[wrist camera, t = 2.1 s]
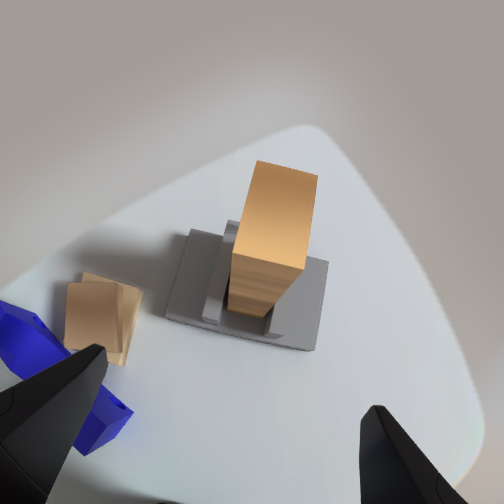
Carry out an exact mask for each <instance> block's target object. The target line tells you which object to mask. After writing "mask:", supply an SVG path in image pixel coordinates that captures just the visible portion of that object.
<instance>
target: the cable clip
mask: <svg viewBox="0 0 504 504" xmlns="http://www.w3.org/2000/svg"><path fill="white" fill-rule="evenodd" d="M71 355H72V354H71V353H70V352H69V351H68V350H67V349H65V347H64V346H63V345H62V344H61V343H60V341H59V340H58V339H57V338H56V337H55V336H54V335H53V334H52V332H51V331H50V330H49V329H48V328H47V327H46V325H45V324H44V323H43V322H42V321H41V319H40V318H39V317H38V316H37V315H36V314H35V313H33V312H30V311H27V310H24V309H22V308H19V307H16V306H14V305H11V304H8V303H6V302H3V301H1V300H0V357H1V359H2V360H3V361H4V363H5V364H6V366H7V367H8V368H9V370H10V371H12V372H13V373H15V374H16V375H17V376H19V377H20V378H21V379H23V380H26V379H27V378H29V377H31V376H33V375H35V374H37V373H39V372H41V371H42V370H44V369H46V368H48V367H50V366H52V365H54V364H56V363H58V362H59V361H61V360H63V359H65V358H67V357H69V356H71ZM133 413H134V412H133V411H132V410H130V409H129V408H128V407H127V406H126V405H124V404H123V403H122V402H121V401H120V400H119V399H117V398H116V397H115V396H114V395H113V394H112V393H111V392H110V391H108V390H107V389H106V388H105V387H104V386H103V385H102V384H101V386H100V388H99V391H98V393H97V396H96V399H95V401H94V404H93V406H92V408H91V410H90V412H89V414H88V416H87V418H86V419H85V421H84V423H83V425H82V427H81V429H80V431H79V433H78V435H77V437H76V439H75V441H74V443H73V446H74V447H75V448H76V449H77V450H78V451H79V452H80V453H81V454H82V455H83V456H84V457H85V456H86V455H88V454H90V453H91V452H93V451H95V450H96V449H98V448H99V447H101V446H103V445H104V444H106V443H107V442H109V441H110V440H112V439H114V438H115V436H116V435H117V434H118V433H119V431H120V430H121V429H122V427H123V426H124V425H125V423H126V422H127V421H128V420H129V418H130V417H131V416H132V414H133Z"/></svg>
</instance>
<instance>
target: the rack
mask: <svg viewBox="0 0 504 504" xmlns="http://www.w3.org/2000/svg"><path fill="white" fill-rule="evenodd" d="M239 225H240V222H236V221H232V220H228V221H227V225H226V229H225V232H224V236H221V235H217V234H212V233H208V232H204V231H200V230H195V229H191V230H190V233H189V236H188V239H187V242H186V246H185V249H184V252H183V255H182V258H181V262H180V265H179V268H178V272H177V275H176V278H175V282H174V285H173V289H172V292H171V296H170V299H169V303H168V306H167V310H166V313H165V317H167V318H168V319H170V320H174V321H178V322H181V323H185V324H189V325H192V326H196V327H200V328H204V329H208V330H212V331H216V332H220V333H224V334H228V335H232V336H237V337H241V338H245V339H250V340H254V341H259V342H264V343H268V344H273V345H278V346H283V347H288V348H293V349H298V350H304V351H315V345H316V340H317V334H318V329H319V323H320V317H321V311H322V305H323V298H324V292H325V285H326V278H327V271H328V264H329V261H325V260H321V259H317V258H313V257H309V256H306V261H305V267H304V270H303V272H302V273H301V274H300V275H299V276H298V277H297V279H296V280H295V281H294V282H293V283H292V285H291V286H290V287H289V288H288V289H287V290H286V292H285V293H284V294H283V295H282V296H281V297H280V298H279V300H278V301H277V302H276V303H275V304H274V305H273V307H272V308H271V309H270V310H269V311H268V312H267V313H266V315H265V316H264V317H263V318H262V319H260V318H255V317H251V316H247V315H242V314H238V313H234V312H230V311H227V309H228V297H229V285H230V273H231V262H232V252H233V248H234V244H235V240H236V237H237V233H238V229H239Z"/></svg>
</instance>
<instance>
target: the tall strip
mask: <svg viewBox="0 0 504 504" xmlns="http://www.w3.org/2000/svg"><path fill="white" fill-rule="evenodd" d="M317 179H318V176H317V175H314V174H310V173H306V172H302V171H299V170H295V169H291V168H287V167H283V166H279V165H275V164H271V163H266V162H262V161H258V160H257V162H256V165H255V169H254V173H253V176H252V180H251V184H250V188H249V191H248V195H247V199H246V202H245V206H244V210H243V214H242V218H241V221H240V225H239V229H238V233H237V237H236V240H235V244H234V248H233V252H232V262H231V273H230V285H229V297H228V309H227V311H230V312H234V313H238V314H242V315H247V316H251V317H255V318H260V319H262V318H263V317H264V316H265V315H266V313H267V312H268V311H269V310H270V309H271V308H272V307H273V305H274V304H275V303H276V302H277V301H278V300H279V298H280V297H281V296H282V295H283V294H284V293H285V292H286V290H287V289H288V288H289V287H290V286H291V285H292V283H293V282H294V281H295V280H296V279H297V277H298V276H299V275H300V274H301V273H302V272H303V270H304V267H305V261H306V255H307V249H308V243H309V236H310V229H311V223H312V216H313V209H314V202H315V194H316V187H317Z"/></svg>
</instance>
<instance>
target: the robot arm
mask: <svg viewBox="0 0 504 504" xmlns="http://www.w3.org/2000/svg"><path fill="white" fill-rule="evenodd" d="M107 368H108V360H107V352H106V348H105V347H104V346H102V345H99V344H96V343H94V344H91V345H89V346H87V347H86V348H84V349H82V350H80V351H78V352H76V353H74V354H73V355H71V356H69V357H67V358H65V359H63V360H61V361H59V362H58V363H56V364H54V365H52V366H50V367H48V368H46V369H44V370H42V371H41V372H39V373H37V374H35V375H33V376H31V377H29V378H27V379H26V380H24V381H22V382H20V383H18V384H16V385H15V386H12V387H10V388H8V389H6V390H5V391H2V392H0V504H45V503H46V500H47V498H48V495H49V493H50V491H51V489H52V487H53V484H54V482H55V480H56V478H57V476H58V474H59V472H60V469H61V467H62V465H63V463H64V461H65V459H66V457H67V455H68V453H69V451H70V449H71V447H72V445H73V443H74V441H75V439H76V437H77V435H78V433H79V431H80V429H81V427H82V425H83V423H84V421H85V419H86V418H87V416H88V414H89V412H90V410H91V408H92V406H93V404H94V401H95V399H96V396H97V393H98V391H99V388H100V386H101V383H102V381H103V378H104V376H105V373H106V371H107ZM359 470H360V490H361V504H468V503H467V502H466V501H465V500H464V499H463V498H462V497H461V496H460V495H459V494H458V493H457V492H456V491H455V490H454V489H453V488H452V487H451V486H450V484H449V483H448V482H447V481H446V480H445V479H444V477H443V476H442V475H441V474H440V473H438V470H437V469H436V468H435V467H434V465H433V464H432V463H431V462H430V461H429V459H428V458H427V457H426V456H425V455H424V453H423V452H422V451H421V450H420V449H419V447H418V446H417V445H416V444H415V443H414V441H413V440H412V439H411V438H410V436H409V435H408V434H407V433H406V432H405V430H404V429H403V428H402V427H401V426H400V424H399V423H398V422H397V421H396V420H395V418H394V417H393V416H392V415H391V414H390V412H389V411H388V410H387V409H386V408H385V407H384V406H382V405H373V406H371V407H370V409H369V410H368V411H367V413H366V414H365V415H364V417H363V418H362V420H361V424H360V449H359ZM158 504H164V503H158Z"/></svg>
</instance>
